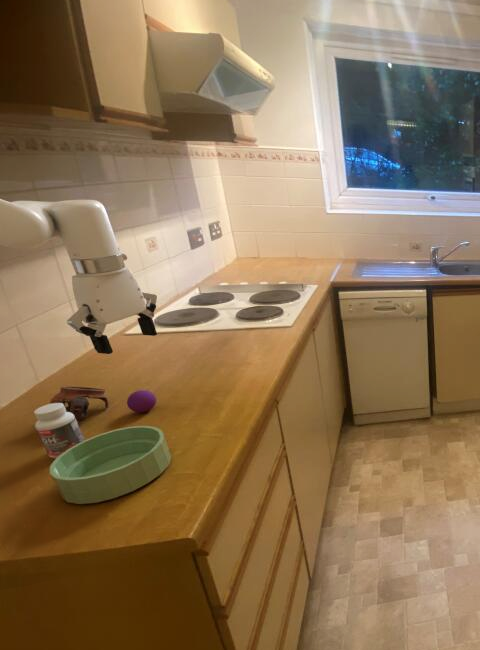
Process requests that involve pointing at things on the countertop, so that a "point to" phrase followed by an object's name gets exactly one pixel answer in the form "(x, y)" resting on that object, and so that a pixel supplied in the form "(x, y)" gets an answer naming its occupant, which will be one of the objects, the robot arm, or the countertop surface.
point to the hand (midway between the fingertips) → (128, 343)
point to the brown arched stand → (78, 399)
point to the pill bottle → (57, 429)
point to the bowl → (110, 464)
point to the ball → (141, 401)
